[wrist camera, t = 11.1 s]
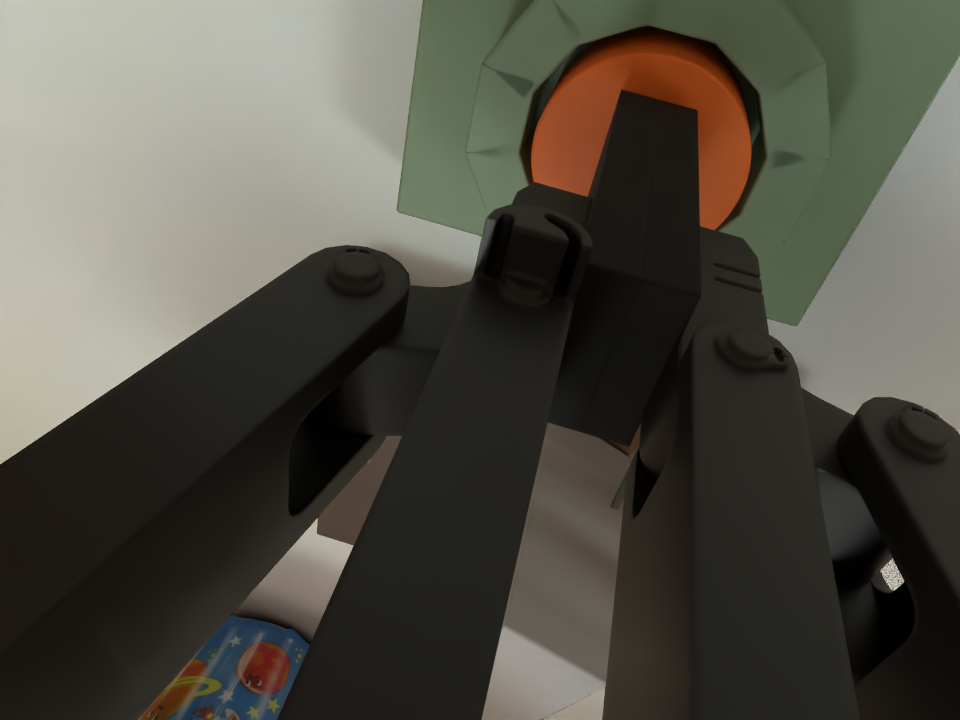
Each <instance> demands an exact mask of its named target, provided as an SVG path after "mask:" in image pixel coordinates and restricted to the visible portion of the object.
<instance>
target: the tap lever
mask: <svg viewBox="0 0 960 720" xmlns="http://www.w3.org/2000/svg"><path fill="white" fill-rule="evenodd" d="M629 465H630V458H629V457H628V456H627V455H625V454H624V453H622V452H620V451H619V450H617V449H616V448H614V447H613V446H611V445H609V444H608V443H606V442H605V441H603V440H602V439H600V438H598V437H594V436H591V435H588V434H584V433H581V432H578V431H575V430H571V429H568V428H565V427H561V426H558V425H555V424H551V423H547V428H546V432H545V437H544V441H543V446H542V450H541V455H540V459H539V464H538V468H537V473H536V477H535V482H534V486H533V491H532V495H531V500H530V504H529V509H528V513H527V517H526V522H525V526H524V531H523V535H522V540H521V544H520V549H519V553H518V558H517V562H516V567H515V571H514V576H513V580H512V585H511V589H510V594H509V598H508V603H507V607H506V612H505V616H504V621H503V625H502V630H501V634H500V639H499V643H498V648H497V652H496V657H495V661H494V666H493V670H492V675H491V679H490V684H489V688H488V693H487V697H486V702H485V706H484V711H483V715H482V720H542V719H544V718H546V717H548V716H550V715H552V714H554V713H556V712H558V711H560V710H562V709H564V708H566V707H568V706H570V705H572V704H574V703H576V702H577V701H579V700H581V699H583V698H585V697H587V696H589V695H591V694H593V693H595V692H597V691H599V690H601V689H603V688H605V687H606V678H607V668H608V657H609V647H610V637H611V627H612V617H613V607H614V597H615V587H616V576H617V566H618V556H619V546H620V536H621V526H622V516H623V505H624V498H623V500H622V502H621V504H620V506H619V508H618V510H617V509H614V508H611V507H610V506H611V504H612V501H613V499H614V496H615V494H616V492H617V490H618V488H619V486H620V484H621V482H622V480H623V478H624V476H625V474H626V472H627V469H628V467H629Z"/></svg>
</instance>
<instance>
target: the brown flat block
mask: <svg viewBox="0 0 960 720" xmlns="http://www.w3.org/2000/svg"><path fill="white" fill-rule="evenodd" d="M640 430H641V424H640V426H639V428H638V430H637V432H636V434H635V436H634V438H633V440H632V443H631V445H630V447H628V446H624V445H621V444H618V443H614V442H611V441H608V440H604V439H602V440H603V441H605V442H606V443H608V444H609V445H611V446H613V447H614V448H616V449H617V450H619V451H620V452H622V453H624V454H625V455H627V456H628V457H629V458H630V463H631V461H632V459H633V457H634V455H635V453H636V451H637V449H638V447H639V443H640ZM401 438H402V436H386V438H385V440H384V442H383V444H382V446H381V447H380V448H379V449H378V450H377V452H376V453H375V454H374V455H373V456H372V457H371V458H370V459H369V461H368V462H367V463H366V464H365V465H364V466H363V467H362V468H361V470H360V471H359V472H358V473H357V474H356V475H355V476H354V477H353V479H352V480H351V481H350V482H349V483H348V484H347V485H346V486H345V488H344V489H343V490H342V491H341V492H340V493H339V494H338V495H337V496H336V498H335V499H334V500H333V501H332V502H331V503H330V504H329V505H328V507H327V508H326V509H325V510H324V511H323V512H322V513H321V514H320V516H319V517H318V526H317V534H319V535H322V536H326V537H329V538H332V539H335V540H338V541H341V542H345V543H348V544H351V545H354V544H355V542H356V540H357V537H358V535H359V533H360V531H361V528H362V526H363V524H364V521H365V519H366V517H367V515H368V512H369V510H370V508H371V506H372V503H373V501H374V499H375V497H376V494H377V492H378V490H379V488H380V485H381V483H382V481H383V479H384V476H385V474H386V472H387V469H388V467H389V465H390V463H391V460H392V458H393V456H394V454H395V451H396V449H397V447H398V445H399V442H400V440H401ZM600 439H601V438H600Z"/></svg>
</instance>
